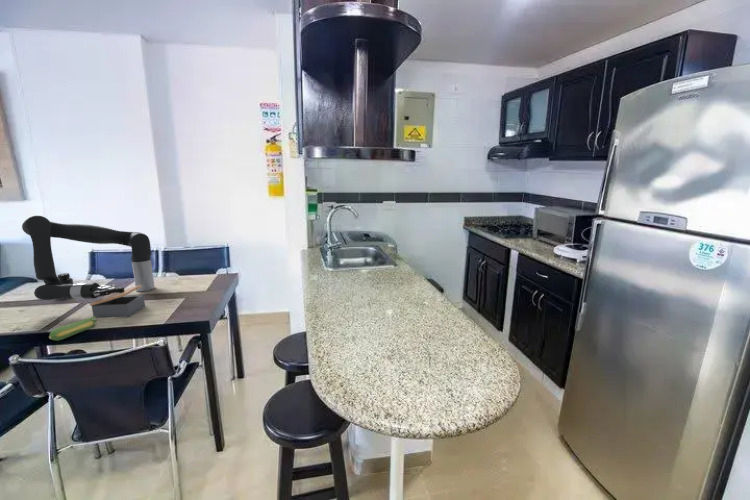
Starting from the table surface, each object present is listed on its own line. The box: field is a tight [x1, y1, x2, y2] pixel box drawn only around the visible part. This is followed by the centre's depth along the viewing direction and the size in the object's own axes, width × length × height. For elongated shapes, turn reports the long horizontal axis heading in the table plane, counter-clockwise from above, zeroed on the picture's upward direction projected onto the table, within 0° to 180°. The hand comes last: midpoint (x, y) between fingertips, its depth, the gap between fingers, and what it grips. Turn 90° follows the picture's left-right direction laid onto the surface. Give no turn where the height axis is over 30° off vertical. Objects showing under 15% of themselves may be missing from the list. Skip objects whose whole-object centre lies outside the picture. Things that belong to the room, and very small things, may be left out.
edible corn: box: [48, 316, 98, 342], centre depth 149 cm, size 5×20×5 cm
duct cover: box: [89, 285, 142, 307], centre depth 169 cm, size 14×16×1 cm
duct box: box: [91, 294, 146, 319], centre depth 170 cm, size 13×16×6 cm
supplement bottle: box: [57, 272, 75, 285], centre depth 193 cm, size 7×7×12 cm
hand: (123, 289), depth 169 cm, fingers closed
